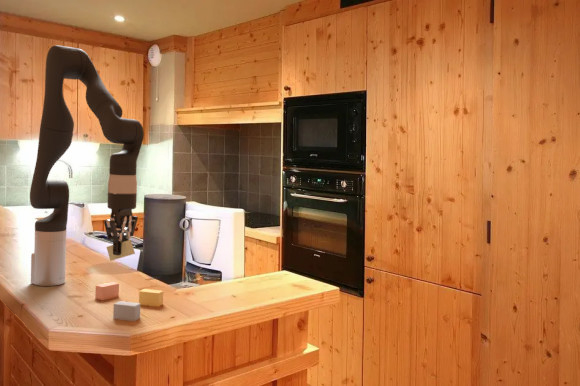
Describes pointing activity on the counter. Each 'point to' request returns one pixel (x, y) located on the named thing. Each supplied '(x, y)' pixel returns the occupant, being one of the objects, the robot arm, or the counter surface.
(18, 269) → the counter surface
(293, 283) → the counter surface
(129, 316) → the slate brick
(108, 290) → the terracotta brick
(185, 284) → the mounting bracket
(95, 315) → the counter surface
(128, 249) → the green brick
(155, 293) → the mustard brick
